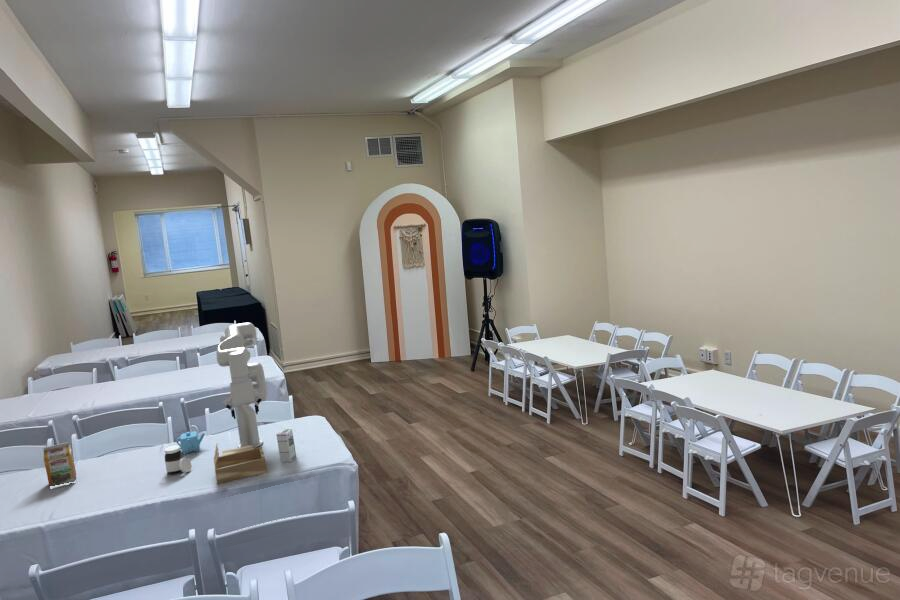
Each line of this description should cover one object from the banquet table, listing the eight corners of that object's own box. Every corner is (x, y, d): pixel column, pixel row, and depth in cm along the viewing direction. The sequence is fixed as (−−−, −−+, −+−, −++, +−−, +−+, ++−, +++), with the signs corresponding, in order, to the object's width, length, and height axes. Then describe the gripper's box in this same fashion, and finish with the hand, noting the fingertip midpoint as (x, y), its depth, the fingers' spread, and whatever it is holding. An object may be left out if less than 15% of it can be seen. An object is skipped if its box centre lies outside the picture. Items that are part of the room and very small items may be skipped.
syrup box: (291, 462, 310) (287, 433, 307) (280, 462, 311) (276, 433, 308) (296, 457, 315) (292, 428, 313) (285, 457, 316) (281, 429, 314)
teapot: (178, 447, 342) (175, 429, 341) (206, 441, 347) (203, 424, 346) (177, 459, 326) (174, 440, 324) (207, 453, 331) (204, 434, 329)
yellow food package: (50, 489, 303) (42, 451, 300) (51, 481, 313) (44, 444, 309) (75, 483, 308) (68, 445, 305) (76, 475, 317) (69, 438, 314)
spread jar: (169, 468, 316) (165, 445, 314) (193, 464, 318) (190, 441, 316) (165, 478, 304) (161, 455, 302) (190, 473, 307) (186, 450, 305)
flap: (215, 457, 305) (214, 457, 304) (218, 443, 304) (216, 443, 304) (216, 467, 292) (215, 467, 292) (219, 453, 292) (217, 453, 292)
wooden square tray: (215, 467, 312) (213, 453, 311) (262, 456, 320) (260, 443, 319) (217, 484, 292) (214, 469, 291) (267, 472, 300) (265, 458, 299)
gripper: (259, 373, 295) (264, 409, 298) (219, 380, 289) (225, 417, 291) (261, 377, 288) (266, 414, 291) (220, 384, 282) (226, 422, 285)
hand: (245, 415), depth 291 cm, fingers open, 9 cm apart
